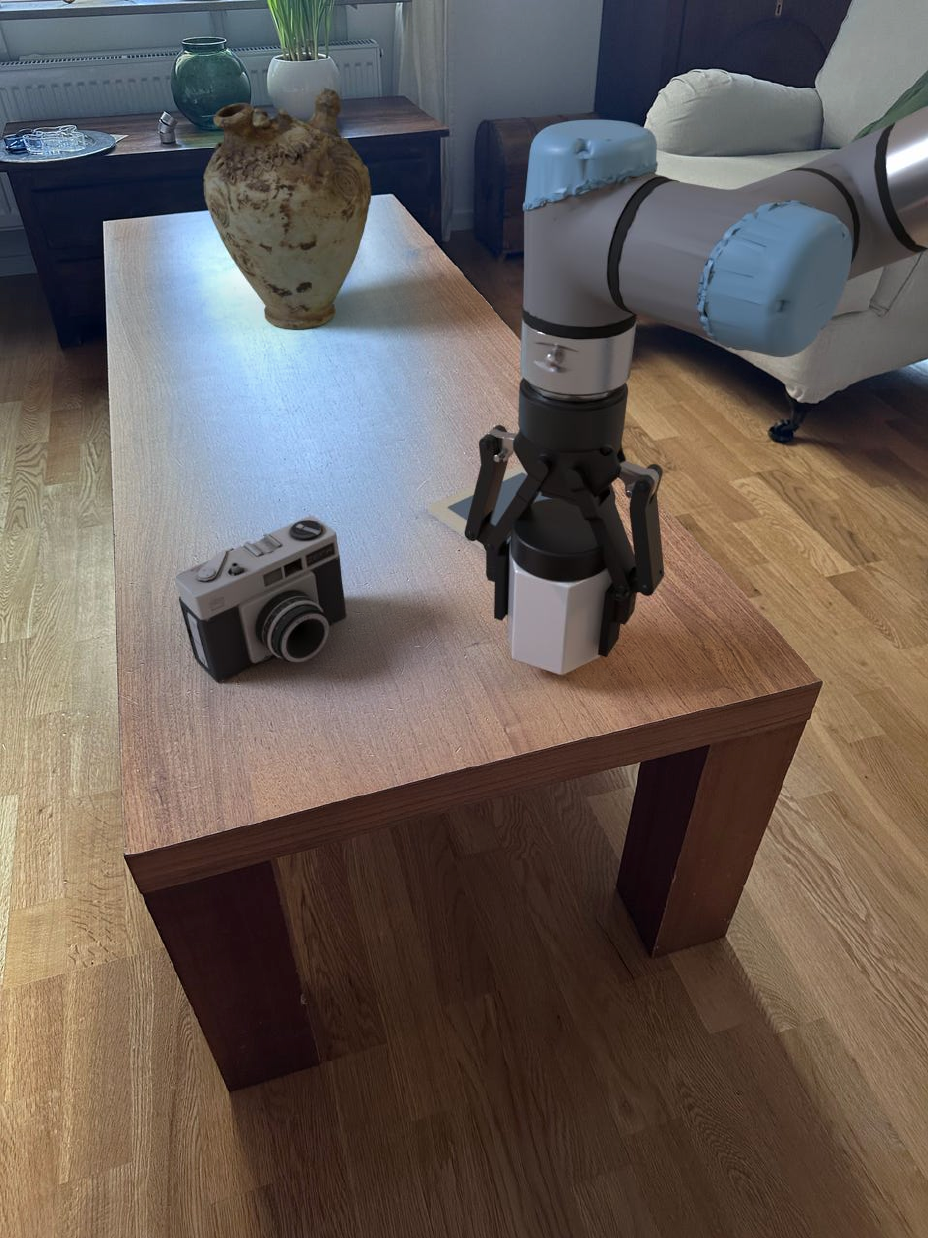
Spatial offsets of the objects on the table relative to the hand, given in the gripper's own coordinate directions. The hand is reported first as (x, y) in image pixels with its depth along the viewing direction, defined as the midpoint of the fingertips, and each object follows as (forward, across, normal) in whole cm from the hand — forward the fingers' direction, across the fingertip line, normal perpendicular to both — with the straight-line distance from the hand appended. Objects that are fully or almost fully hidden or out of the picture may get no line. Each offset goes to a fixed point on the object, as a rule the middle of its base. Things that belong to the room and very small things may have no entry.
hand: (555, 628), depth 75 cm
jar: (+2, 0, 0) cm, 2 cm away
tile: (+3, -12, +18) cm, 22 cm away
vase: (+2, -66, +51) cm, 84 cm away
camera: (+3, -21, -11) cm, 24 cm away
